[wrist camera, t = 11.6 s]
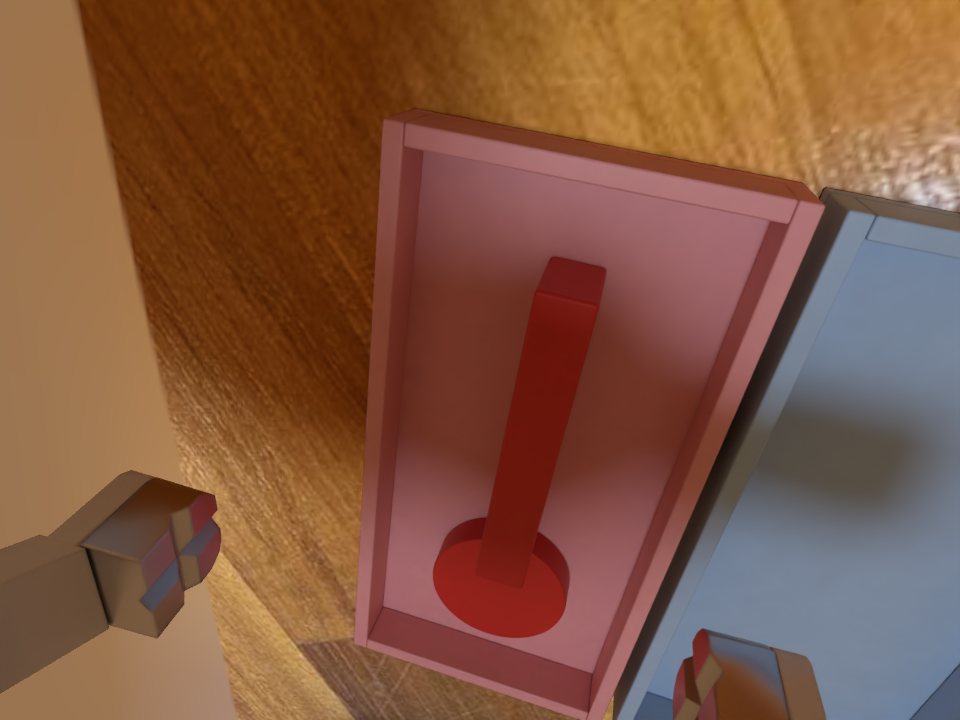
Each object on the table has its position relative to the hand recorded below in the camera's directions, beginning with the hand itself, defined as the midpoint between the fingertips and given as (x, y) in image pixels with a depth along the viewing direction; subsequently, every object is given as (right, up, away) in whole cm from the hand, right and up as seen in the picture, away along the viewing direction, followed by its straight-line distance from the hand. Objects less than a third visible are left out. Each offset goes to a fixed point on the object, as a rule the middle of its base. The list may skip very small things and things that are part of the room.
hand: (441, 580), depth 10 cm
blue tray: (+11, -1, +7) cm, 13 cm away
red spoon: (+2, 0, +8) cm, 9 cm away
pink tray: (+2, +1, +8) cm, 9 cm away
